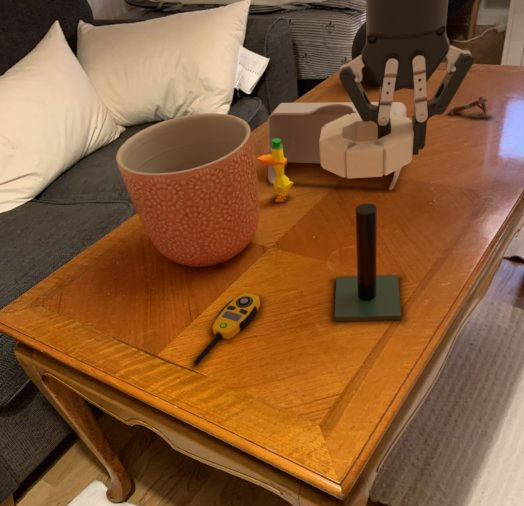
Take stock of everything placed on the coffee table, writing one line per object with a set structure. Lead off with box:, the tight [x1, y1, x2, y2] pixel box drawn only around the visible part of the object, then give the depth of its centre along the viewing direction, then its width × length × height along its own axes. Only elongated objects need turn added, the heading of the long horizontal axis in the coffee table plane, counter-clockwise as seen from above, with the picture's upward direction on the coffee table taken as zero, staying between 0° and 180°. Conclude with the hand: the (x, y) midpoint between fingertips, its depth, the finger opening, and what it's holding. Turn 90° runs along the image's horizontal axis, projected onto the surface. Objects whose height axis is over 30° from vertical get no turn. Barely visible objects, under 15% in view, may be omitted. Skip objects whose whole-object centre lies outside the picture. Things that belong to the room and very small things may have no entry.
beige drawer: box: [267, 101, 407, 191], centre depth 100 cm, size 25×16×12 cm, turn 68°
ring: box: [319, 112, 414, 179], centre depth 59 cm, size 11×11×3 cm
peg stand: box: [333, 203, 402, 322], centre depth 70 cm, size 9×9×15 cm
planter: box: [115, 112, 260, 268], centre depth 85 cm, size 21×21×19 cm
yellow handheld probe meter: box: [193, 292, 261, 365], centre depth 74 cm, size 5×2×15 cm
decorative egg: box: [350, 21, 380, 86], centre depth 127 cm, size 12×12×15 cm
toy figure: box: [256, 138, 295, 203], centre depth 95 cm, size 7×4×12 cm, turn 64°
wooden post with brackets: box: [449, 95, 490, 119], centre depth 110 cm, size 2×8×4 cm, turn 50°
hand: (400, 152), depth 59 cm, fingers closed on ring, 2 cm apart
